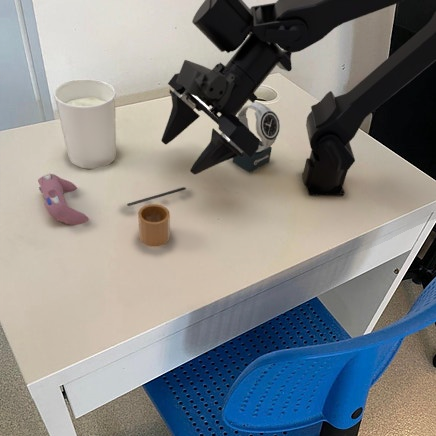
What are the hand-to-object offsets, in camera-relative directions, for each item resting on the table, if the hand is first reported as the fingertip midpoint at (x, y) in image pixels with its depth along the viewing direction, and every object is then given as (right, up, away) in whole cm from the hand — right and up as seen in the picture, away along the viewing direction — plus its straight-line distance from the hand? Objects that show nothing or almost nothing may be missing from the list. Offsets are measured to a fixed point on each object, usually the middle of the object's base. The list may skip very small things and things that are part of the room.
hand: (177, 157), depth 77 cm
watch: (+12, +3, +15) cm, 20 cm away
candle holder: (-16, +3, +13) cm, 21 cm away
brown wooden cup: (-3, -13, -2) cm, 14 cm away
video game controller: (-18, -8, +2) cm, 20 cm away
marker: (-7, -9, +3) cm, 12 cm away
